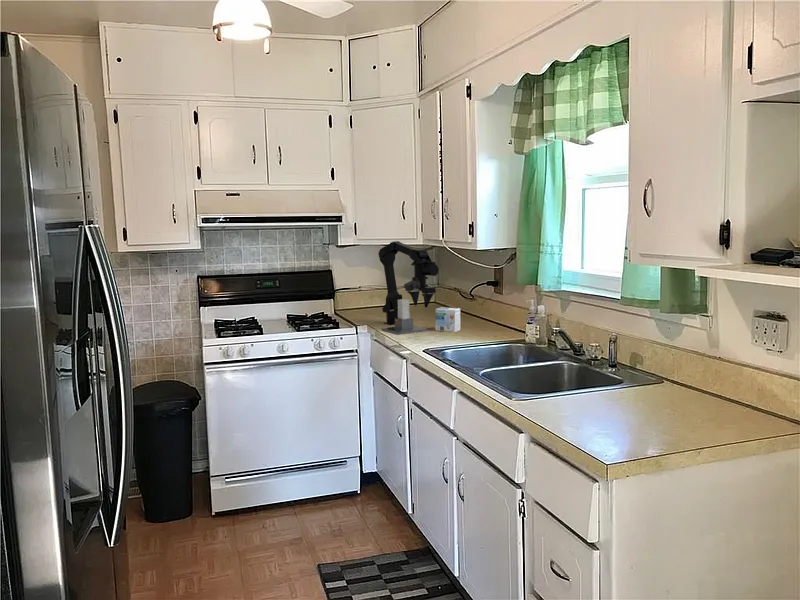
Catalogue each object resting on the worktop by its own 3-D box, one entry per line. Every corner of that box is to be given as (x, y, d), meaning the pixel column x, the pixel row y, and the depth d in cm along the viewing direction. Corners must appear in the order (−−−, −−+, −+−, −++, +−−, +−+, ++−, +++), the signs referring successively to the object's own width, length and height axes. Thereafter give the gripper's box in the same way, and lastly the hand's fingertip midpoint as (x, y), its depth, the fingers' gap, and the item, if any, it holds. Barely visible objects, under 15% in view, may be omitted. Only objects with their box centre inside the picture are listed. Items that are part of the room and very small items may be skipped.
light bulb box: (435, 330, 326) (434, 308, 325) (440, 328, 332) (440, 307, 331) (455, 332, 321) (455, 309, 320) (460, 330, 327) (460, 308, 326)
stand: (381, 330, 331) (381, 318, 330) (408, 326, 339) (408, 315, 339) (399, 334, 317) (398, 322, 317) (426, 330, 326) (426, 318, 325)
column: (397, 320, 328) (397, 299, 327) (405, 319, 331) (404, 299, 329) (402, 321, 325) (402, 300, 324) (409, 320, 327) (409, 299, 326)
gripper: (396, 274, 334) (396, 305, 336) (417, 277, 318) (417, 309, 320) (414, 273, 340) (415, 304, 342) (436, 275, 324) (436, 307, 326)
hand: (420, 306), depth 332 cm, fingers open, 9 cm apart
